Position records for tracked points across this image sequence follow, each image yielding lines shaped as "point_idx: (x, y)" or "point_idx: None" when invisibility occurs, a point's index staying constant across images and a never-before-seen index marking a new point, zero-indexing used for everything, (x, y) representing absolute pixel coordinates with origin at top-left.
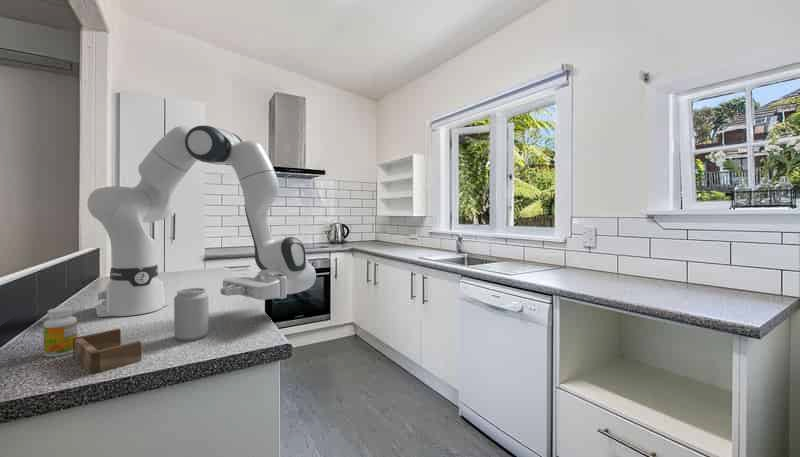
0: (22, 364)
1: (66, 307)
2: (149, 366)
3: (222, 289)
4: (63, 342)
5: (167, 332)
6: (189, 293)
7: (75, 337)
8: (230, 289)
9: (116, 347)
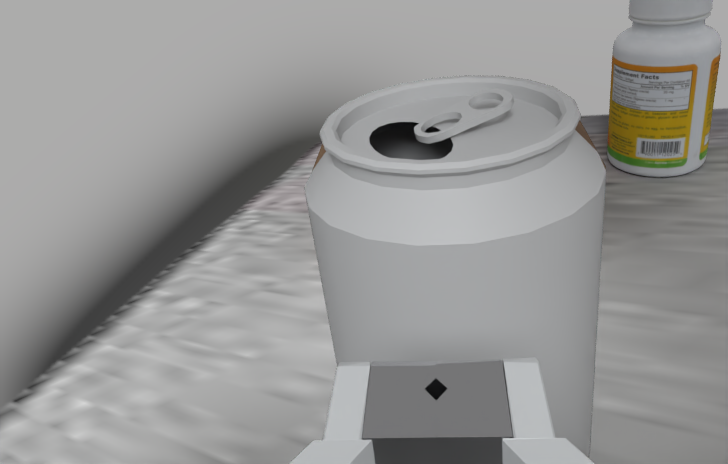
0: (593, 126)
1: None
2: (234, 264)
3: (473, 362)
4: (610, 117)
5: (712, 397)
6: (346, 104)
7: (638, 124)
8: (332, 420)
9: (322, 154)
